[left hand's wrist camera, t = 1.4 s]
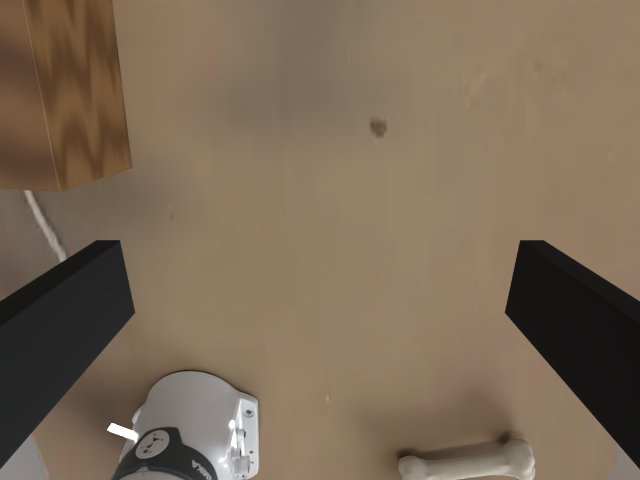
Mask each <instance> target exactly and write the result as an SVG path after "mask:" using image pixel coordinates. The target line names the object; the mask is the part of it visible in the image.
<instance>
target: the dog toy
mask: <svg viewBox="0 0 640 480" xmlns="http://www.w3.org/2000/svg"><path fill="white" fill-rule="evenodd" d="M398 462H399V467H398V469H399V472H400V474H401V476H402V480H457V479H464V478H471V477H478V476H485V475H508V476H514V477H516V478H518V479H519V480H532V479H533V478H534V475H535V468H534V463H535V459H534V457H533V454H532V448H531V446H530V444H529V443H528V442H527V441H525V440H521V439H516V440H510V441H508V442H507V443H506V444H505V445H504V446H502V447H500V448H499V449H497V450H494V451H491V452H487V453H482V454H476V455H469V456H462V457H456V458H449V459H441V460H425V459H420V458H418V457H416V456H413V455H409V456H405V457H402V458H401V459H399V461H398Z"/></svg>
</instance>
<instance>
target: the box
mask: <svg viewBox="0 0 640 480" xmlns="http://www.w3.org/2000/svg"><path fill="white" fill-rule="evenodd" d="M129 168H132V165H131V157H130V149H129V141H128V132H127V124H126V116H125V108H124V99H123V91H122V83H121V74H120V66H119V58H118V50H117V41H116V33H115V25H114V17H113V8H112V0H0V189H14V190H33V191H52V192H61V191H64V190H67V189H70V188H73V187H76V186H79V185H81V184H84V183H87V182H90V181H93V180H96V179H99V178H102V177H105V176H108V175H111V174H114V173H117V172H120V171H123V170H126V169H129Z"/></svg>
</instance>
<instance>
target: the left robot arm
mask: <svg viewBox="0 0 640 480" xmlns="http://www.w3.org/2000/svg"><path fill="white" fill-rule="evenodd" d="M134 313H135V310H134V305H133V300H132V296H131V291H130V286H129V281H128V277H127V272H126V267H125V262H124V258H123V253H122V248H121V243H120V240H96V241H95V242H93V243H92V244H90V245H88V246H87V247H85V248H84V249H82V250H80V251H79V252H77V253H76V254H74V255H73V256H71V257H69V258H68V259H66V260H65V261H63V262H62V263H60V264H58V265H57V266H55V267H54V268H52V269H51V270H49V271H47V272H46V273H44V274H43V275H41V276H40V277H38V278H36V279H35V280H33V281H32V282H30V283H29V284H27V285H25V286H24V287H22V288H21V289H19V290H17V291H16V292H14V293H13V294H11V295H10V296H8V297H6V298H5V299H3V300H2V301H0V469H1V468H2V467H3V465H4V464H5V463H6V462H7V461H8V460H9V458H10V457H11V456H12V455H13V454H14V453H15V451H16V450H17V449H18V448H19V447H20V446H21V445H22V443H23V442H24V441H25V440H26V439H27V437H28V436H29V435H30V434H31V433H32V432H33V431H34V429H35V428H36V427H37V426H38V425H39V424H40V422H41V421H42V420H43V419H44V418H45V417H46V416H47V414H48V413H49V412H50V411H51V410H52V409H53V407H54V406H55V405H56V404H57V403H58V402H59V400H60V399H61V398H62V397H63V396H64V395H65V393H66V392H67V391H68V390H69V389H70V388H71V387H72V385H73V384H74V383H75V382H76V381H77V380H78V378H79V377H80V376H81V375H82V374H83V373H84V371H85V370H86V369H87V368H88V367H89V366H90V365H91V363H92V362H93V361H94V360H95V359H96V358H97V356H98V355H99V354H100V353H101V352H102V351H103V349H104V348H105V347H106V346H107V345H108V344H109V342H110V341H111V340H112V339H113V338H114V337H115V336H116V334H117V333H118V332H119V331H120V330H121V329H122V327H123V326H124V325H125V324H126V323H127V322H128V320H129V319H130V318H131V317H132V316H133V315H134ZM505 313H506V315H507V316H508V317H509V318H510V319H511V320H512V322H513V323H514V324H515V325H516V326H517V327H518V329H519V330H520V331H521V332H522V333H523V334H524V336H525V337H526V338H527V339H528V340H529V341H530V342H531V344H532V345H533V346H534V347H535V348H536V349H537V351H538V352H539V353H540V354H541V355H542V356H543V358H544V359H545V360H546V361H547V362H548V363H549V365H550V366H551V367H552V368H553V369H554V370H555V371H556V373H557V374H558V375H559V376H560V377H561V378H562V380H563V381H564V382H565V383H566V384H567V385H568V387H569V388H570V389H571V390H572V391H573V392H574V393H575V395H576V396H577V397H578V398H579V399H580V400H581V402H582V403H583V404H584V405H585V406H586V407H587V409H588V410H589V411H590V412H591V413H592V414H593V416H594V417H595V418H596V419H597V420H598V421H599V422H600V424H601V425H602V426H603V427H604V428H605V429H606V431H607V432H608V433H609V434H610V435H611V436H612V438H613V439H614V440H615V441H616V442H617V443H618V445H619V446H620V447H621V448H622V449H623V450H624V451H625V453H626V454H627V455H628V456H629V457H630V458H631V460H632V461H633V462H634V463H635V464H636V465H637V467H638V468H639V469H640V301H638V300H637V299H635V298H634V297H632V296H630V295H629V294H627V293H626V292H624V291H623V290H621V289H619V288H618V287H616V286H615V285H613V284H611V283H610V282H608V281H607V280H605V279H604V278H602V277H600V276H599V275H597V274H596V273H594V272H593V271H591V270H589V269H588V268H586V267H585V266H583V265H582V264H580V263H578V262H577V261H575V260H574V259H572V258H571V257H569V256H567V255H566V254H564V253H563V252H561V251H560V250H558V249H556V248H555V247H553V246H552V245H550V244H548V243H547V242H545V241H544V240H520V243H519V248H518V253H517V258H516V262H515V267H514V272H513V277H512V281H511V286H510V291H509V296H508V300H507V305H506V310H505Z"/></svg>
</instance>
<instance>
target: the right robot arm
mask: <svg viewBox="0 0 640 480" xmlns="http://www.w3.org/2000/svg"><path fill="white" fill-rule="evenodd" d="M248 410H250V411H248ZM132 422H133V424H134V427H133V429H132V431H131V430H128V429H126V428H123V427H120V426H118V425H115V424H111V425H110V427H109V429H108V431H111V432H113V433H116V434H119V435H121V436H124V437H127V438H128V440H127V442H126V444H125V447H124V449H123V451H122V454H121V456H120V459H119V463H120V464H119V466H118V467H117V469H115V471H114V473H113V475H112V477H111V479H110V480H247V479H249V478H251V477H252V476H254V475H255V474H257V472H258V469H259V433H258V402H257V400H256V398H254V397H253V396H251V395H248V394H245V393H242V392H239V391H237V390H236V389H234V388H233V387H232V386H230V385H229V384H228V383H227V382H225V381H223V380H222V379H220V378H218V377H216V376H213V375H211V374H207V373H203V372H197V371H183V372H177V373H173V374H170V375H168V376H166V377H164V378H162V379H161V380H159V381H158V382H157V383H156V384H155V385H154V386H153V387H152V388H151V390H150V392H149V394H148V397H147V399H146V402H145V403H144V404H143V405H142V406H141V407H140V408H138V409H137V410H136V412H135V413H134V416H133V418H132Z"/></svg>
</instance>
